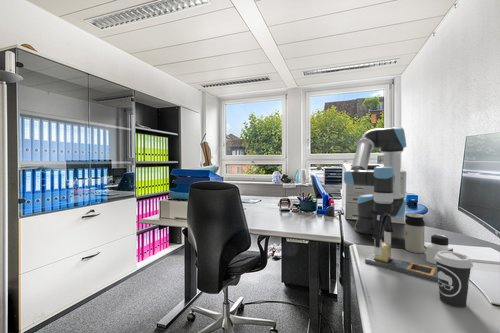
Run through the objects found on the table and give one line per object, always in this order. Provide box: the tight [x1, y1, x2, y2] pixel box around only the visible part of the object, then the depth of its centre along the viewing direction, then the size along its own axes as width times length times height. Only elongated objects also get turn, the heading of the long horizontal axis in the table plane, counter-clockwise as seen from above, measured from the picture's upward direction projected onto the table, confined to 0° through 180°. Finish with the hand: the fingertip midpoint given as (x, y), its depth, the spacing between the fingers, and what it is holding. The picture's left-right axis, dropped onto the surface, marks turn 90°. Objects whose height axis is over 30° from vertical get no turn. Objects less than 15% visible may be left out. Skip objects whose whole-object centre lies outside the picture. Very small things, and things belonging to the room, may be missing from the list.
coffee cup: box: [434, 251, 474, 308], centre depth 79 cm, size 10×10×15 cm
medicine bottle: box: [425, 234, 454, 265], centre depth 108 cm, size 7×7×12 cm
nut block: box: [375, 241, 392, 264], centre depth 108 cm, size 5×5×8 cm
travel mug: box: [404, 212, 425, 254], centre depth 123 cm, size 8×8×18 cm
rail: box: [364, 252, 438, 283], centre depth 103 cm, size 9×26×2 cm, turn 46°
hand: (383, 250), depth 108 cm, fingers open, 13 cm apart
